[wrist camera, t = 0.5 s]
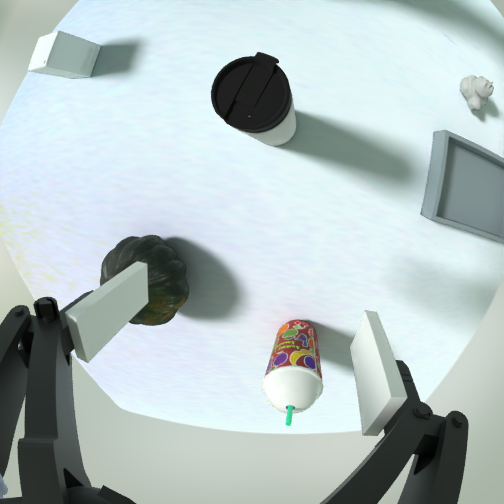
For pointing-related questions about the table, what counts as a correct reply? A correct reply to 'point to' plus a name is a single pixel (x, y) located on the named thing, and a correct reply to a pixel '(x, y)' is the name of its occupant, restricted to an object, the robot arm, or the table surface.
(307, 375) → the smoothie
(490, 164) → the bin
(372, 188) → the table surface
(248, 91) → the travel mug
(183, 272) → the squash
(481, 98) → the white animal figurine
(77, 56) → the supplement box
